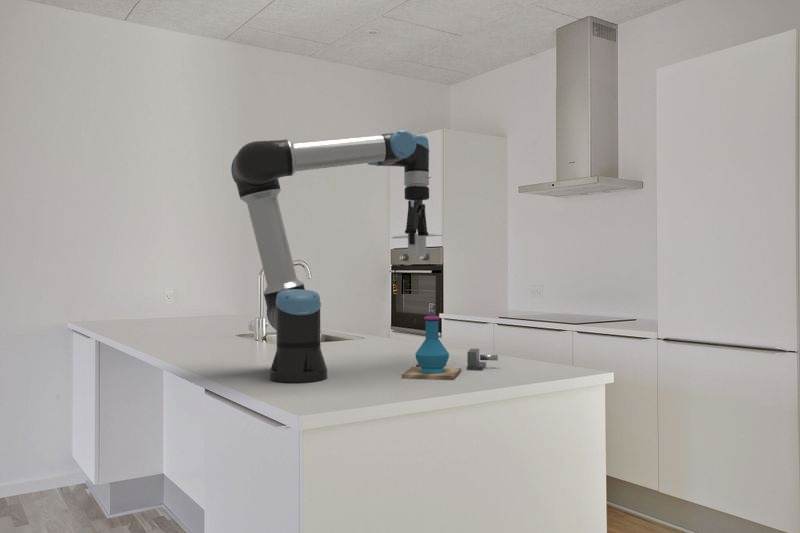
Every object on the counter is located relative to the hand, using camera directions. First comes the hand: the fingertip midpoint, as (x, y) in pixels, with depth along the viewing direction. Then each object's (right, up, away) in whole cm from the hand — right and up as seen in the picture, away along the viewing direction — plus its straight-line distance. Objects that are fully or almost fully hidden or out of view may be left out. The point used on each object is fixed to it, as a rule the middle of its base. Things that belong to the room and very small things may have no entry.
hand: (417, 256), depth 204 cm
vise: (+12, -33, -8) cm, 36 cm away
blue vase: (+4, -32, -21) cm, 38 cm away
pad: (+3, -33, -21) cm, 39 cm away
